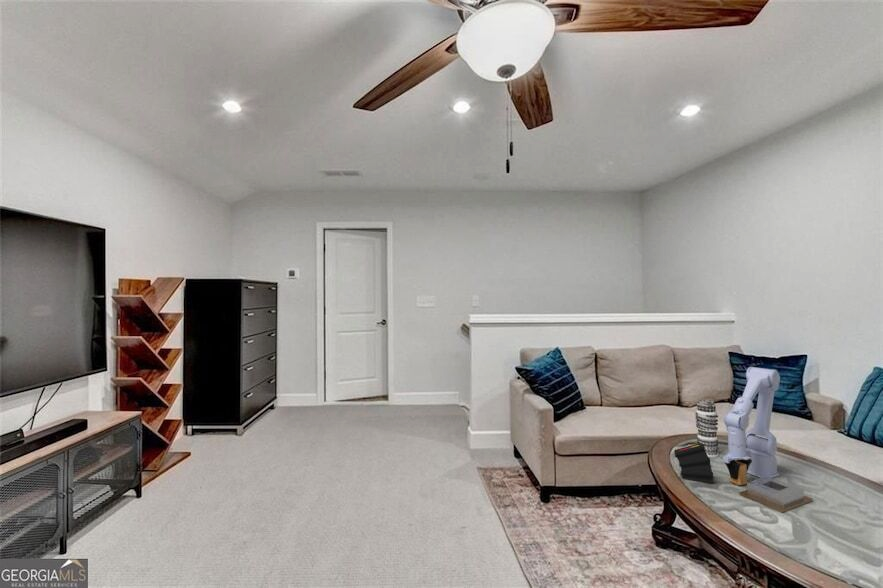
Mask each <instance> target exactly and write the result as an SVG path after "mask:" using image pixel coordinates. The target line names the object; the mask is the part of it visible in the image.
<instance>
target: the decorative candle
mask: <svg viewBox="0 0 883 588" xmlns="http://www.w3.org/2000/svg"><path fill="white" fill-rule="evenodd" d="M695 404H696V412H695V415H694V416H695V426H696V429H697V437H696V442H697V443H696V444H699V443H701V444H702V445H704V447H705V451H706V453H707V456H708V457H709V458H717V457H719V452H720V451H719V448H720V447H719V439H718V435H717V432H718V429H719V428H718V426H719V423H718V422H719V420H718V419H717V418H719V415H718V413H717V410H716V409H717V408H716V407H717V404H716V403H715V402H714V401H713V400H710V399H703V398H702V399H699V400H698V401H696V402H695Z"/></svg>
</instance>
